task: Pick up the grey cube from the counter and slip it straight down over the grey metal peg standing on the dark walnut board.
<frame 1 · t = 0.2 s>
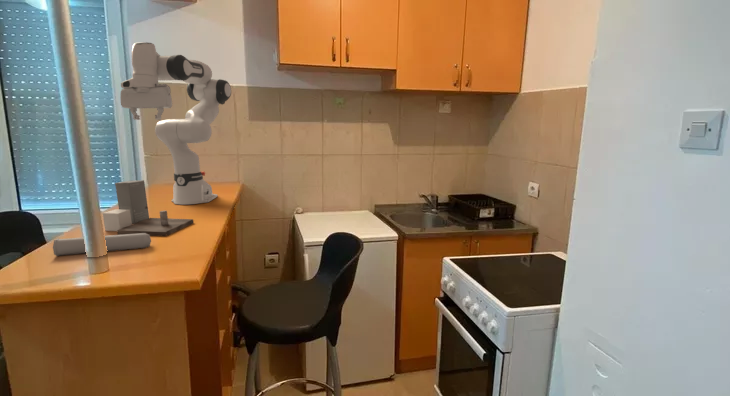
hand: (147, 119, 157), 39 cm above the table, tool pointing down, fingers open, 8 cm apart
peg board: (157, 228, 143), on the table
skincare box: (135, 221, 154), on the table
tube: (106, 251, 120), on the table
grey cube: (118, 228, 143), on the table
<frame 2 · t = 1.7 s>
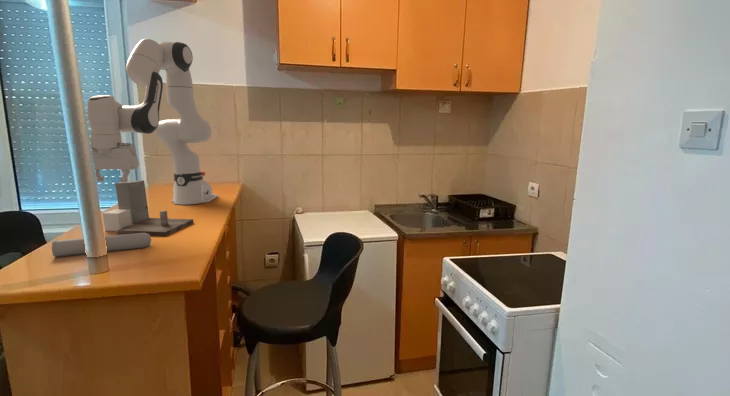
hand: (112, 181, 140), 17 cm above the table, tool pointing down, fingers open, 8 cm apart
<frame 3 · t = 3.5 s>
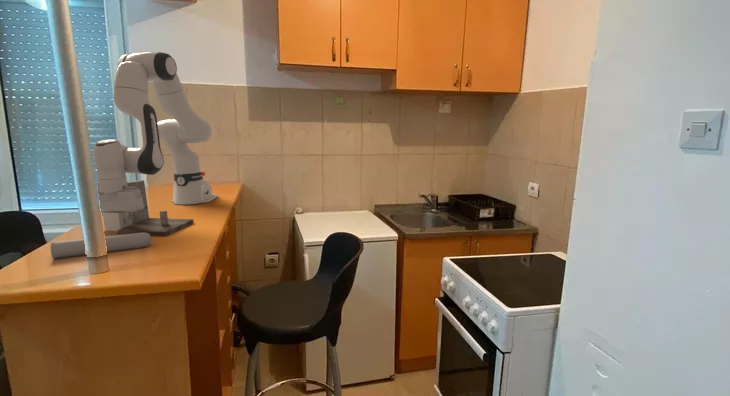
hand: (118, 223, 143), 2 cm above the table, tool pointing down, fingers closed on grey cube, 6 cm apart
grey cube: (118, 228, 143), on the table, touching gripper
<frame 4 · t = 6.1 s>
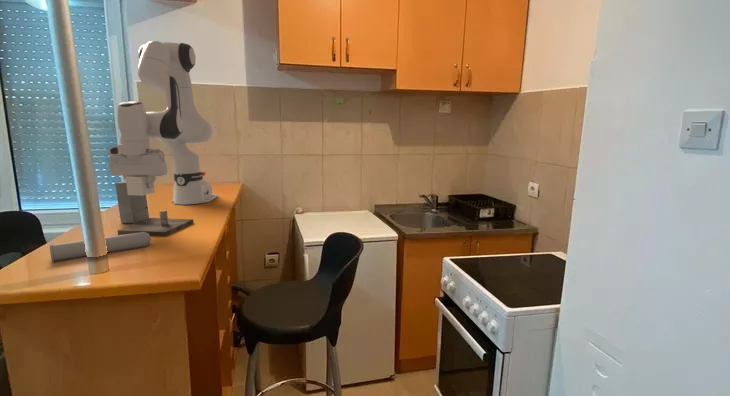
hand: (140, 187, 140), 15 cm above the table, tool pointing down, fingers closed on grey cube, 6 cm apart
grey cube: (141, 193, 140), point 13 cm above the table, touching gripper
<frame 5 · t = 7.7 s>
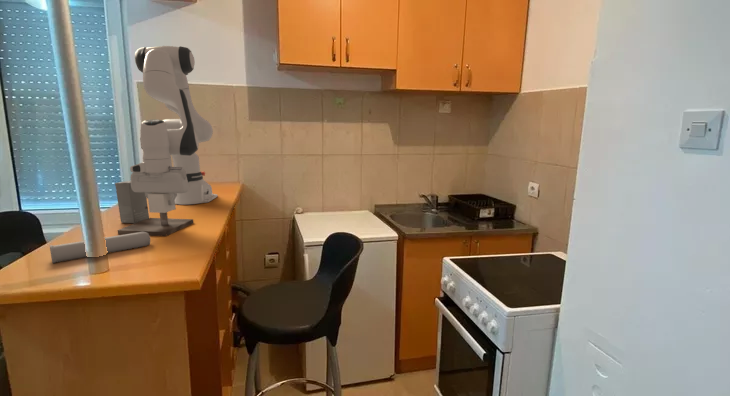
hand: (162, 204, 141), 9 cm above the table, tool pointing down, fingers closed on grey cube, 6 cm apart
grey cube: (162, 210, 141), point 7 cm above the table, touching gripper
when the fingers open (5 cm above the table, at t = 9.0 s): grey cube stays where it is, resting on peg board.
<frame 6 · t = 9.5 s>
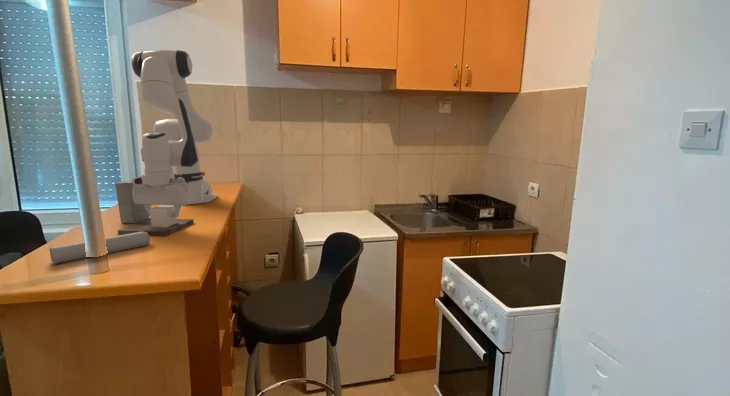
hand: (163, 216, 142), 5 cm above the table, tool pointing down, fingers open, 8 cm apart
grey cube: (164, 224, 143), point 1 cm above the table, touching peg board
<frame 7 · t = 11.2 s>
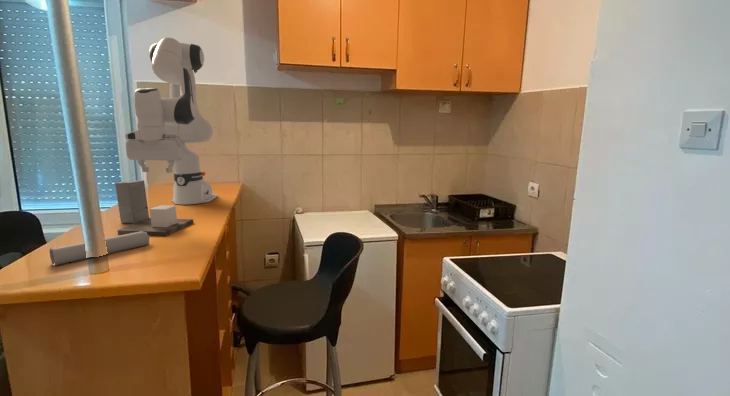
hand: (157, 172, 144), 20 cm above the table, tool pointing down, fingers open, 8 cm apart
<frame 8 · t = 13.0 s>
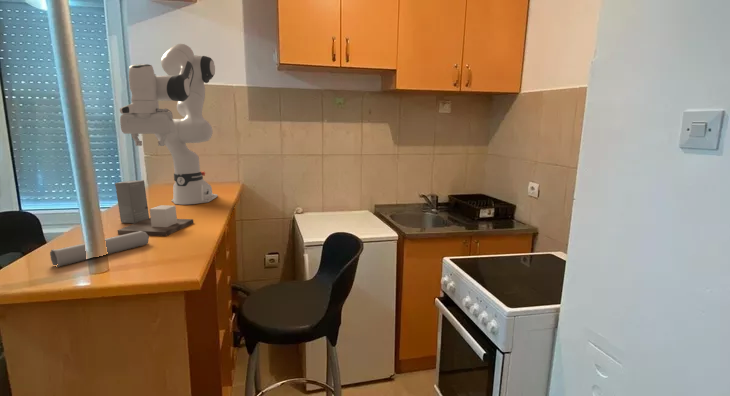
hand: (150, 145, 150), 29 cm above the table, tool pointing down, fingers open, 8 cm apart
at the end: grey cube 0.0 cm from the target spot on the peg board, point 1.5 cm above the peg board's base; grey cube tilted 0°; the gripper is holding nothing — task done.
